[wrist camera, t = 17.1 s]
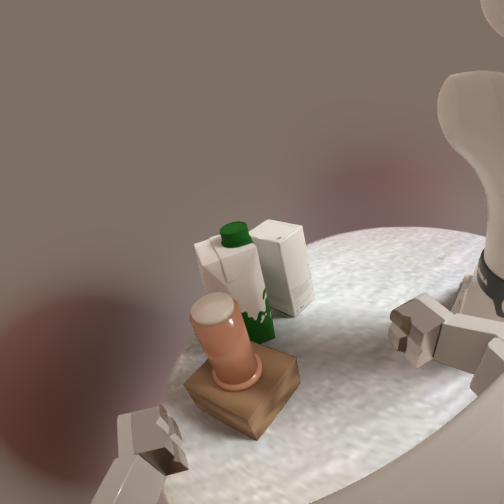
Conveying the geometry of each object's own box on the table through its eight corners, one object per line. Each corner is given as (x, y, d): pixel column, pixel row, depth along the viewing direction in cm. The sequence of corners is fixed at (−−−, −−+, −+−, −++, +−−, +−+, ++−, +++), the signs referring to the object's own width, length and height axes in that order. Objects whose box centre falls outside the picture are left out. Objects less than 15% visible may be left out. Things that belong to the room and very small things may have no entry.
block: (241, 359, 49) (232, 333, 46) (300, 382, 42) (295, 357, 39) (197, 407, 42) (183, 384, 39) (257, 440, 35) (247, 420, 32)
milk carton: (282, 339, 51) (258, 233, 41) (231, 359, 49) (193, 256, 40) (264, 310, 58) (239, 213, 49) (219, 327, 57) (184, 232, 47)
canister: (233, 348, 43) (209, 282, 37) (272, 362, 39) (253, 294, 34) (204, 380, 39) (171, 316, 33) (244, 399, 35) (215, 334, 29)
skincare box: (315, 299, 58) (305, 225, 51) (293, 319, 55) (279, 243, 47) (282, 286, 64) (269, 217, 56) (260, 304, 60) (242, 233, 53)
